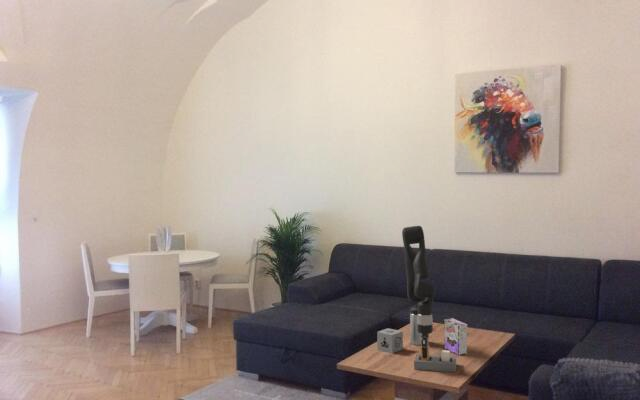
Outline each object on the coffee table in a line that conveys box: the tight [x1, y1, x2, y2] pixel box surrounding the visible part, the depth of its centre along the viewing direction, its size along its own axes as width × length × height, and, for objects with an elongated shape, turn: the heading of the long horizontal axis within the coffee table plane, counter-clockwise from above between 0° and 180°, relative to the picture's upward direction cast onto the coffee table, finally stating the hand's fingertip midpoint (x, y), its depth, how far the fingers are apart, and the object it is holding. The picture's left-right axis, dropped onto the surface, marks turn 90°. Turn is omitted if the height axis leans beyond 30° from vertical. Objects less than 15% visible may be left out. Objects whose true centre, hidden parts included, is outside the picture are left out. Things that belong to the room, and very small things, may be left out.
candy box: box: [443, 317, 468, 356], centre depth 314 cm, size 14×6×16 cm, turn 21°
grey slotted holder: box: [413, 349, 457, 373], centre depth 290 cm, size 12×20×8 cm, turn 75°
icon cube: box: [376, 327, 404, 354], centre depth 319 cm, size 10×10×10 cm
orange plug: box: [420, 344, 431, 360], centre depth 291 cm, size 4×4×7 cm
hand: (425, 356), depth 291 cm, fingers closed on orange plug, 4 cm apart
